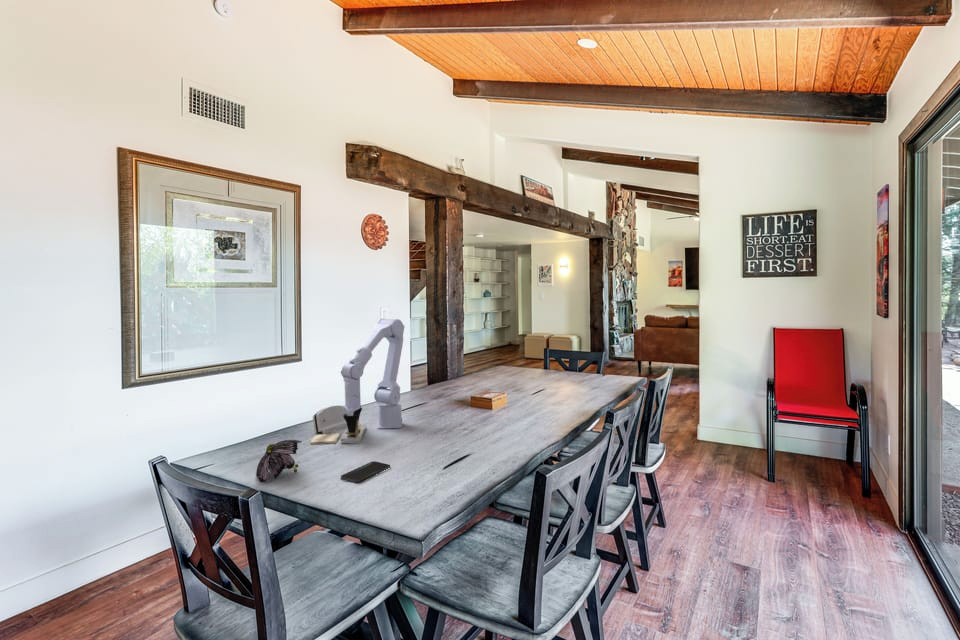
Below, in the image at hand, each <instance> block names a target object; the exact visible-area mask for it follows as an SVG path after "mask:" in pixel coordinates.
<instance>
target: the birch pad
mask: <svg viewBox="0 0 960 640" xmlns="http://www.w3.org/2000/svg"><path fill="white" fill-rule="evenodd" d="M340 434H341V433H327V434H323V433H322V434H315V435H314V437H312V439H311V441H310V445H322V444H321V443H330V444H336V443H337V442H338V440H339V438H340V436H341V435H340Z"/></svg>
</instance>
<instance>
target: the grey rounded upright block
mask: <svg viewBox="0 0 960 640" xmlns="http://www.w3.org/2000/svg"><path fill="white" fill-rule="evenodd" d="M342 406H343V405H331V406H328V407H327V406H326V407H324V408H322V409H320V410H319V411H317V412H316V413H314V414H313V415H312V423H313V429H314V430H313V431H314V434H318V433H320V432H321V433H322V435H323V434H326V433H327V434H330V433H333V432H336V431H338V429H339V430H342V429H341V428H343V429H345V428H344V427H346V428H347V423H346V421H345V419H344V417H343V415H344V414H347V410H346V409H342ZM335 430H336V431H335ZM332 431H333V432H332ZM329 432H330V433H329Z"/></svg>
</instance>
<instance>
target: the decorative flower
mask: <svg viewBox="0 0 960 640" xmlns="http://www.w3.org/2000/svg"><path fill="white" fill-rule="evenodd" d="M302 442H303V441H302V440H297V439H286V440H285V439H284V440H282V441H279V442H278V441H277V442H276V443H270V444H269V445H268V446H267V447H266V450H265V453H264V455H262V457H261V458H260V460H259V462H258V463H257V464H258V465H257V467H256V472H255V473H256V474H255V477H256V478H257V479H258V482H259V481H260V483H262V482H264V483H265V482H266V481H267V478H268V473H270V474H271V476H272V477H273V478H274V479H277V478H278V477H280V475H281V474H282V472H284V470H286V469H287V470H291V469H293V473H297V472H298V468H299V464H298V463H296V462H295V460H294V458H293V457H292V455H296V454H297V450H299V448H298V447H299V445H298V443H302Z"/></svg>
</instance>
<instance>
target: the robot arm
mask: <svg viewBox="0 0 960 640" xmlns="http://www.w3.org/2000/svg"><path fill="white" fill-rule="evenodd" d="M374 328H375V329H374V331H373V332H372V334H371V335H370V337H369V339H368V340H367V342H366V343H365V345H364V346H362V347H359V348H357V349H356V352H355V353H354V355H353V356H352V357H351V359H349V362H347V363H345V364H344V365H343V366H342V368H341V371H340V374H341V376H342V379H343V382H344V405H341V406H342V409H346V410H347V414H344V415H343V417H344V419H345V421H346V423H347V426H348V431H349V433H355V430H356V423H357V419H359V420H360V416H361V413H362V410H363V407H362V403H361V401H362V400H361V378H362V377H363V375H364V370H365V366H366V365H367V364H368V363H369V361H370V360H371V358H372V356H373V353H372V352H373V350H375V348H376V347H377V346H378V344H380V342H381V341H382V340H383V339H384V338H385V339H386V340H387V341H388V343H389V344H388V349H387V354H386V360H385V361H386V362H385V365H384V371H383V378H382V380H381V381H380V382H378V383H377V388H376V390H375V391H374V395H373V397H374V400H375V401H376V403H377V405H378V424H377V427H376V429H377V430H379V429H382V430H383V429H400V428H402V424H403V418H402V417H403V416H402V411H403V410H402V404H401V403H400V400H401V386H400V385H399V383H398V382H397V379H398V373H399V369H400V368H399V366H400V362H401V356H402V351H403V350H402V349H403V345H404V332H405V324H404V323H403V322H402V320H400V319H394V318H393V319H389V318H380V319H379V320H378V321H377V323H376V324H375V325H374ZM398 403H399V404H398Z"/></svg>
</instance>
